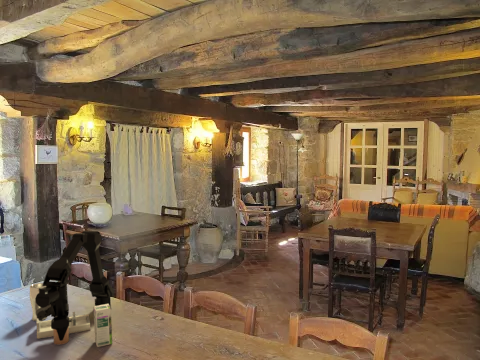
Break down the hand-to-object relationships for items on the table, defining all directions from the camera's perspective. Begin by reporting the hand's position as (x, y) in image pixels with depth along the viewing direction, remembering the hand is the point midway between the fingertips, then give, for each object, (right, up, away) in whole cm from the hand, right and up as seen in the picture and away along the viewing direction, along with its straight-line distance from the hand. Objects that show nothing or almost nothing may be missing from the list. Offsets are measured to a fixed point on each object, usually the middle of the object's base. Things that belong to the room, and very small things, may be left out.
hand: (61, 336), depth 163 cm
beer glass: (-19, -1, +21) cm, 29 cm away
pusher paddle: (-1, 0, +12) cm, 12 cm away
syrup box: (+17, -2, -1) cm, 17 cm away
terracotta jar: (0, -2, 0) cm, 2 cm away
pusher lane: (-4, -1, +11) cm, 12 cm away
